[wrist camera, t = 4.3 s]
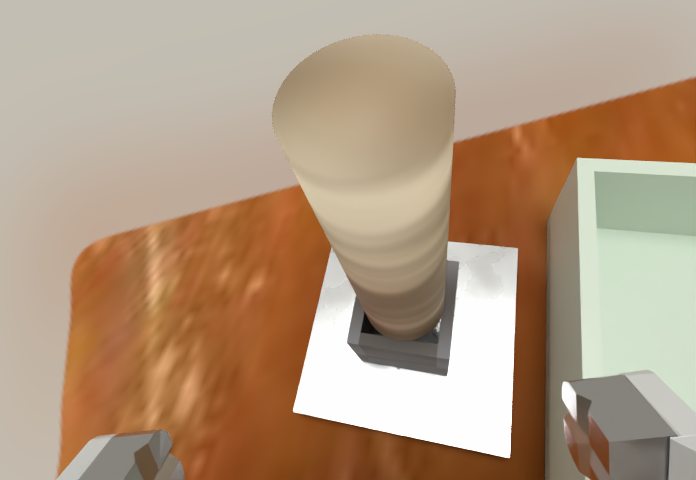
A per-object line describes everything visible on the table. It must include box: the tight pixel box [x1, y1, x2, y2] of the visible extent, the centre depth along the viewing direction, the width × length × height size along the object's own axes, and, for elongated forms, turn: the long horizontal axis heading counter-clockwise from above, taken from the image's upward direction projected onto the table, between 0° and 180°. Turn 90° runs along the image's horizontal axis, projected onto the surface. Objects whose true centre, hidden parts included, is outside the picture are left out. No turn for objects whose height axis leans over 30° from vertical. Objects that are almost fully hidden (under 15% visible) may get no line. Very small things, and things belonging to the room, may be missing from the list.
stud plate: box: [293, 242, 518, 458], centre depth 25 cm, size 12×12×6 cm
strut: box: [272, 34, 459, 376], centre depth 18 cm, size 5×5×19 cm
